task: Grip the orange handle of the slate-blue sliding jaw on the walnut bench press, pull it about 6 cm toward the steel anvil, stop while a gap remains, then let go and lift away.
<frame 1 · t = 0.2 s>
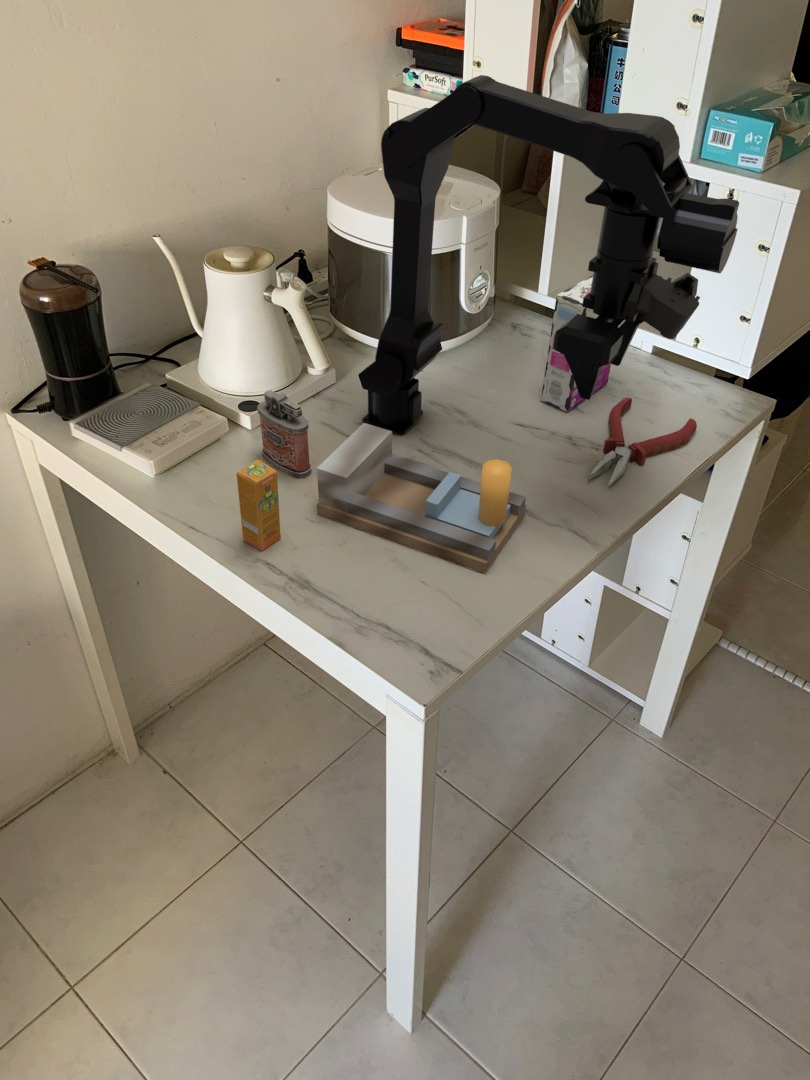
hand: (600, 381, 102), 14 cm above the table, fingers open, 9 cm apart
press jaw: (472, 491, 100), point 6 cm above the table, slide at 0.0 cm
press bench: (421, 514, 106), on the table
pliers: (622, 447, 119), on the table
candy bar box: (575, 394, 128), on the table
lighter: (286, 465, 113), on the table
supplement box: (263, 541, 102), on the table
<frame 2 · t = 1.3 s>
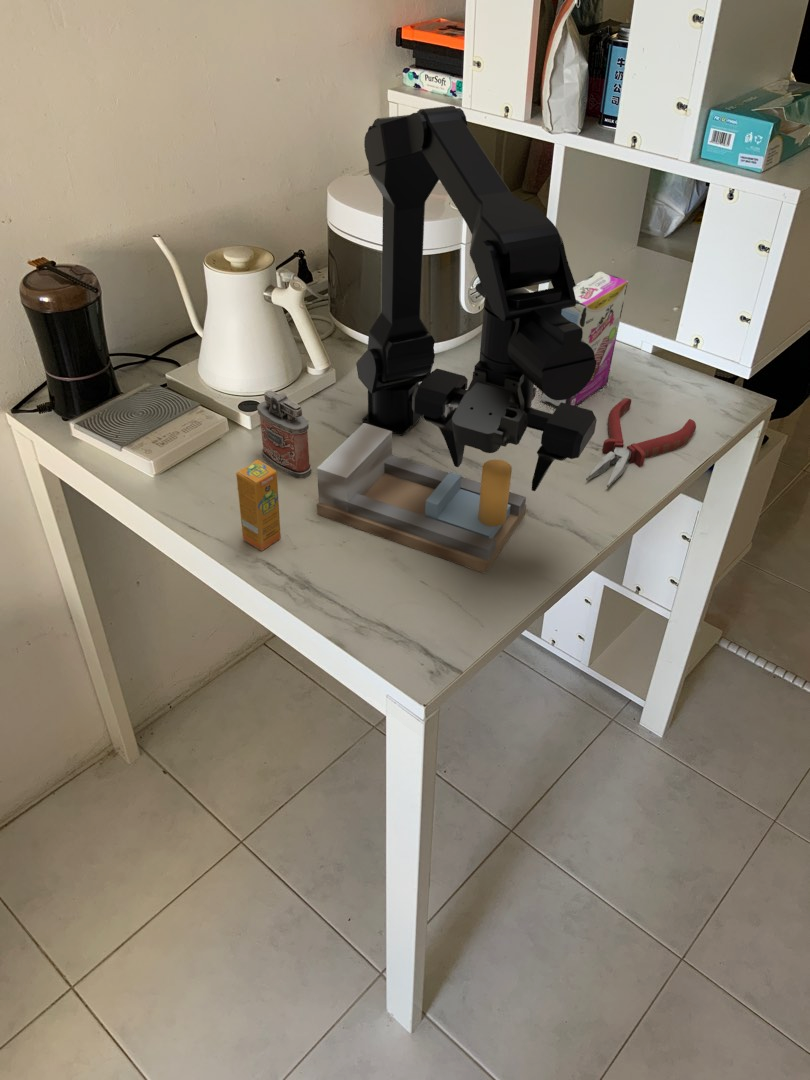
hand: (495, 476, 97), 9 cm above the table, fingers open, 9 cm apart
nothing on the table moved.
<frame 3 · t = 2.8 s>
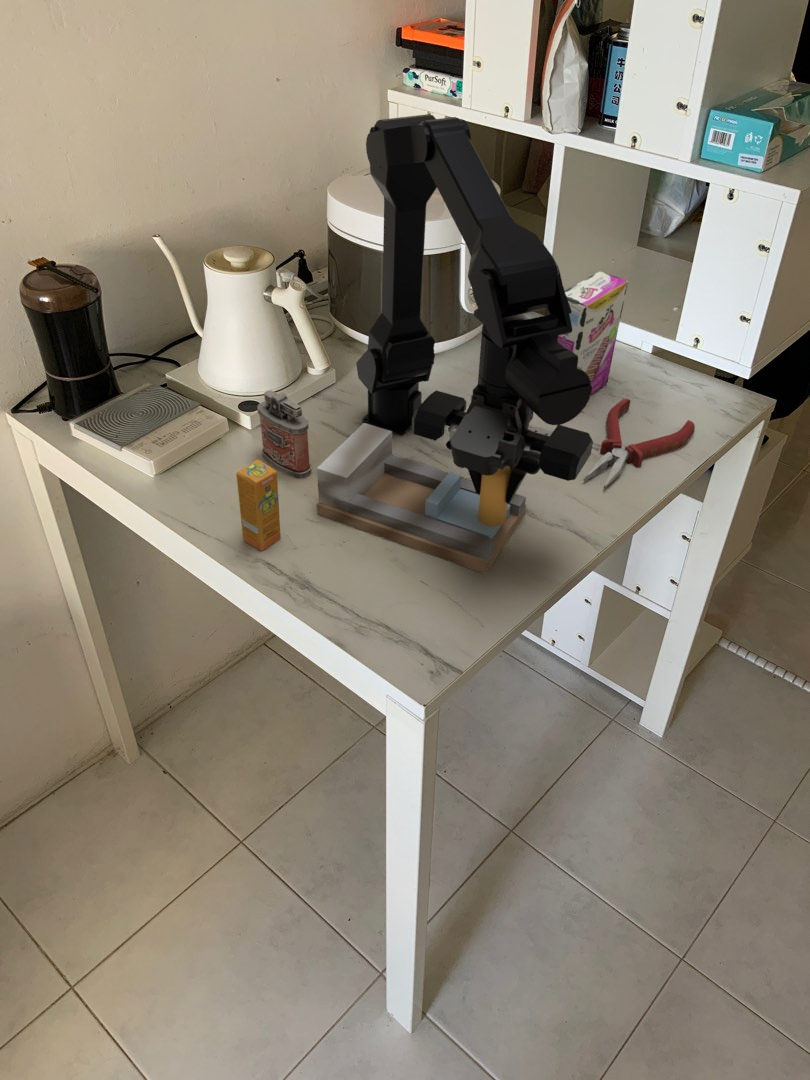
hand: (494, 496, 99), 6 cm above the table, fingers closed on press jaw, 3 cm apart
press jaw: (472, 491, 100), point 6 cm above the table, slide at 0.0 cm, touching gripper
everything else where it was.
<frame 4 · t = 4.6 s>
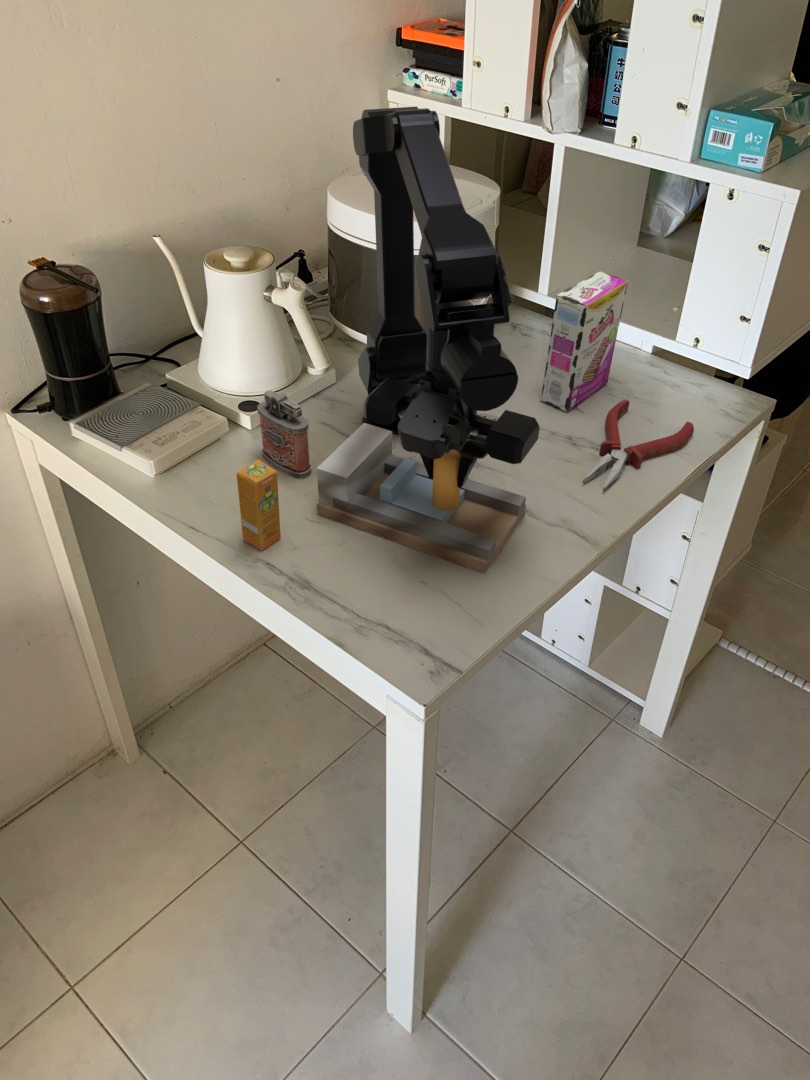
hand: (446, 481, 101), 6 cm above the table, fingers closed on press jaw, 3 cm apart
press jaw: (425, 476, 102), point 6 cm above the table, slide at 5.9 cm, touching gripper
everything else where it was.
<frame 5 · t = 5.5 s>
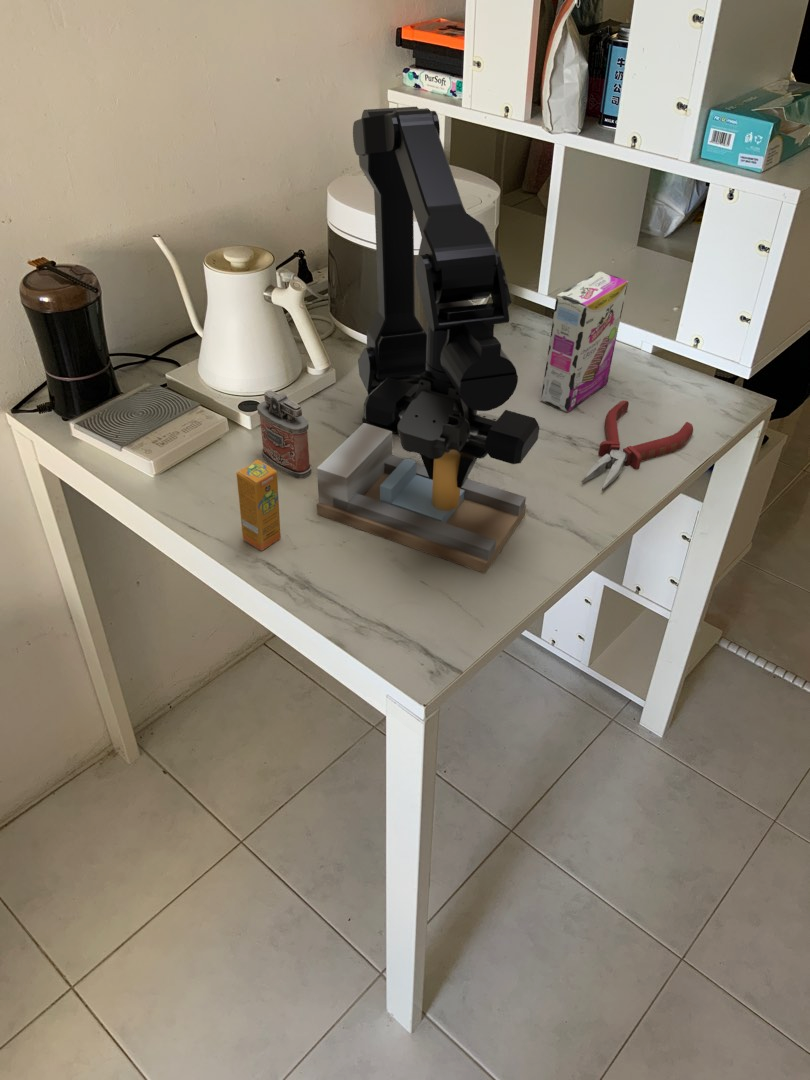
hand: (446, 481, 101), 6 cm above the table, fingers closed on press jaw, 3 cm apart
press jaw: (425, 476, 102), point 6 cm above the table, slide at 5.9 cm, touching gripper
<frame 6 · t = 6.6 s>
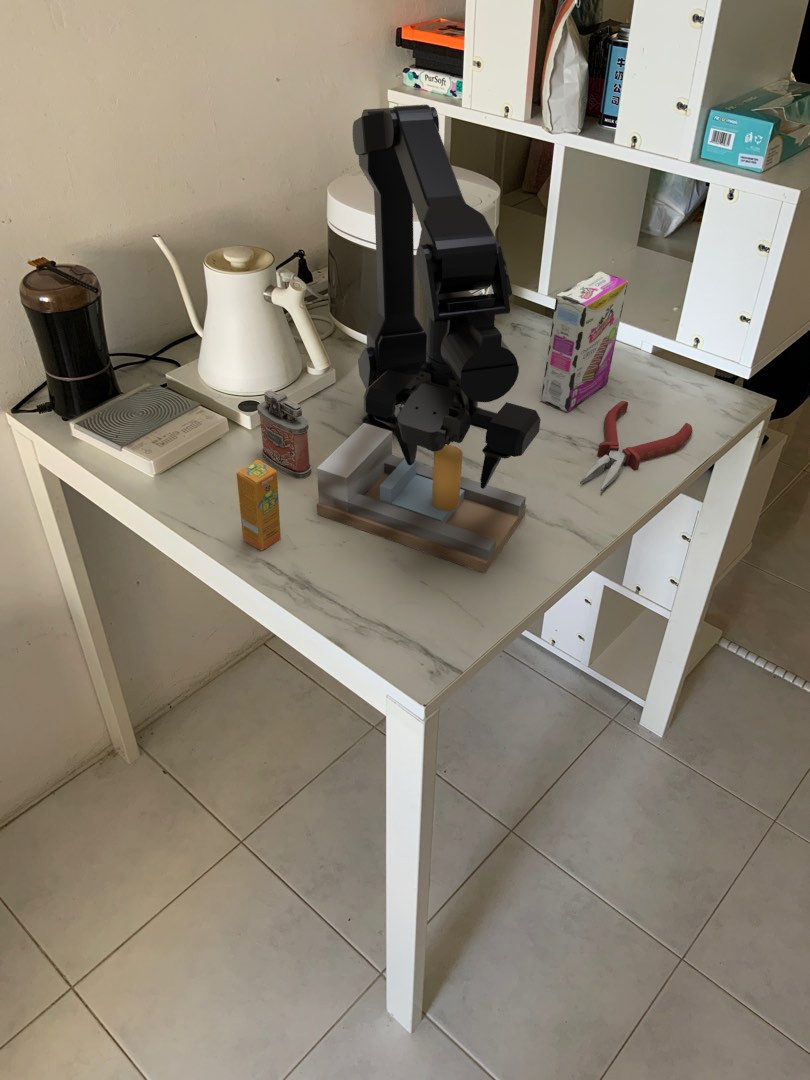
hand: (447, 474, 100), 7 cm above the table, fingers open, 9 cm apart
press jaw: (425, 476, 102), point 6 cm above the table, slide at 5.9 cm
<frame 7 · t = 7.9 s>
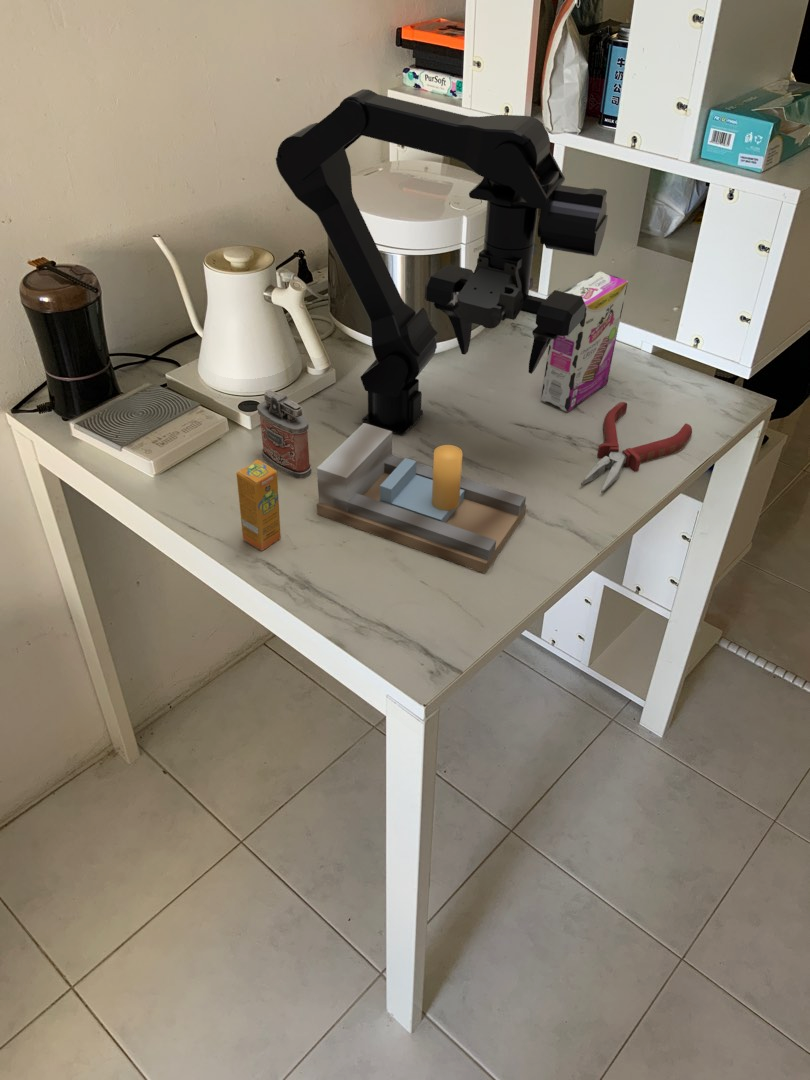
hand: (497, 362, 110), 12 cm above the table, fingers open, 9 cm apart
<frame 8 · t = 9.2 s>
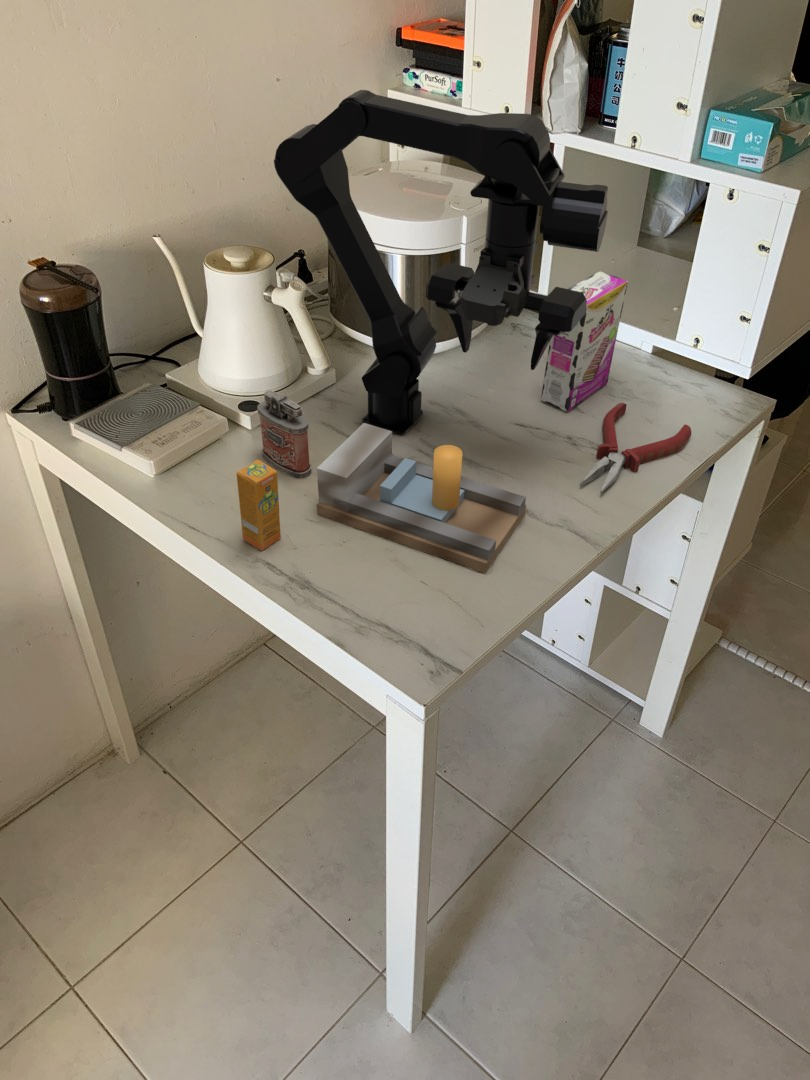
hand: (499, 359, 110), 12 cm above the table, fingers open, 9 cm apart
at the end: press jaw slide at 5.9 cm; the gripper is holding nothing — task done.
